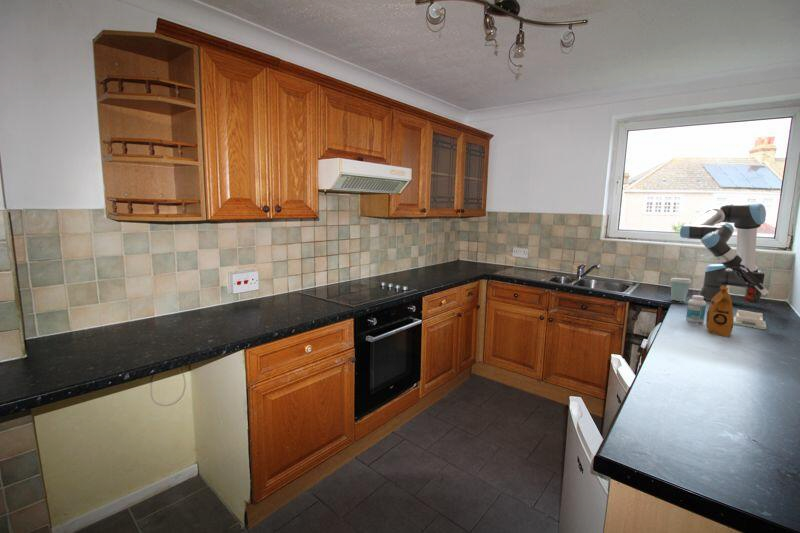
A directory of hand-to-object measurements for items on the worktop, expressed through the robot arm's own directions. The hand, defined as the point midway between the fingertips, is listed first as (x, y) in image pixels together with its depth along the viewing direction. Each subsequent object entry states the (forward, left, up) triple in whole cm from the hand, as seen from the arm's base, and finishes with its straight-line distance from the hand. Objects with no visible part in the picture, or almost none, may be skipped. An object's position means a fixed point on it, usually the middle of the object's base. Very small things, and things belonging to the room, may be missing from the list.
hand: (762, 292), depth 195 cm
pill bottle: (+18, -24, -17) cm, 35 cm away
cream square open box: (+3, -3, -17) cm, 17 cm away
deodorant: (+2, -3, -6) cm, 7 cm away
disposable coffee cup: (-29, -36, -17) cm, 50 cm away
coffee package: (+33, -14, -17) cm, 40 cm away
